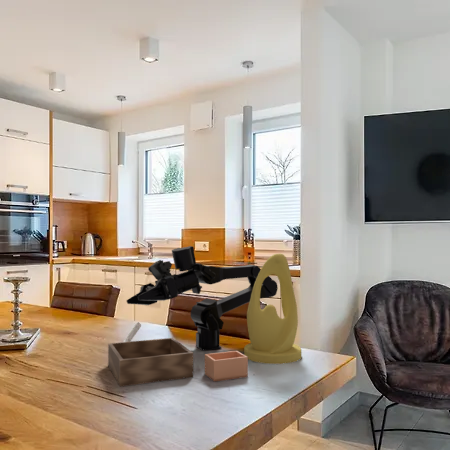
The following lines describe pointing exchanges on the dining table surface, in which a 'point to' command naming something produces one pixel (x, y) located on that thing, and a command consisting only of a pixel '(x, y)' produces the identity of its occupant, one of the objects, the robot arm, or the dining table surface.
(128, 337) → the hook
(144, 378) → the big crate
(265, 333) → the sculpture
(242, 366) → the small crate
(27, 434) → the dining table surface
